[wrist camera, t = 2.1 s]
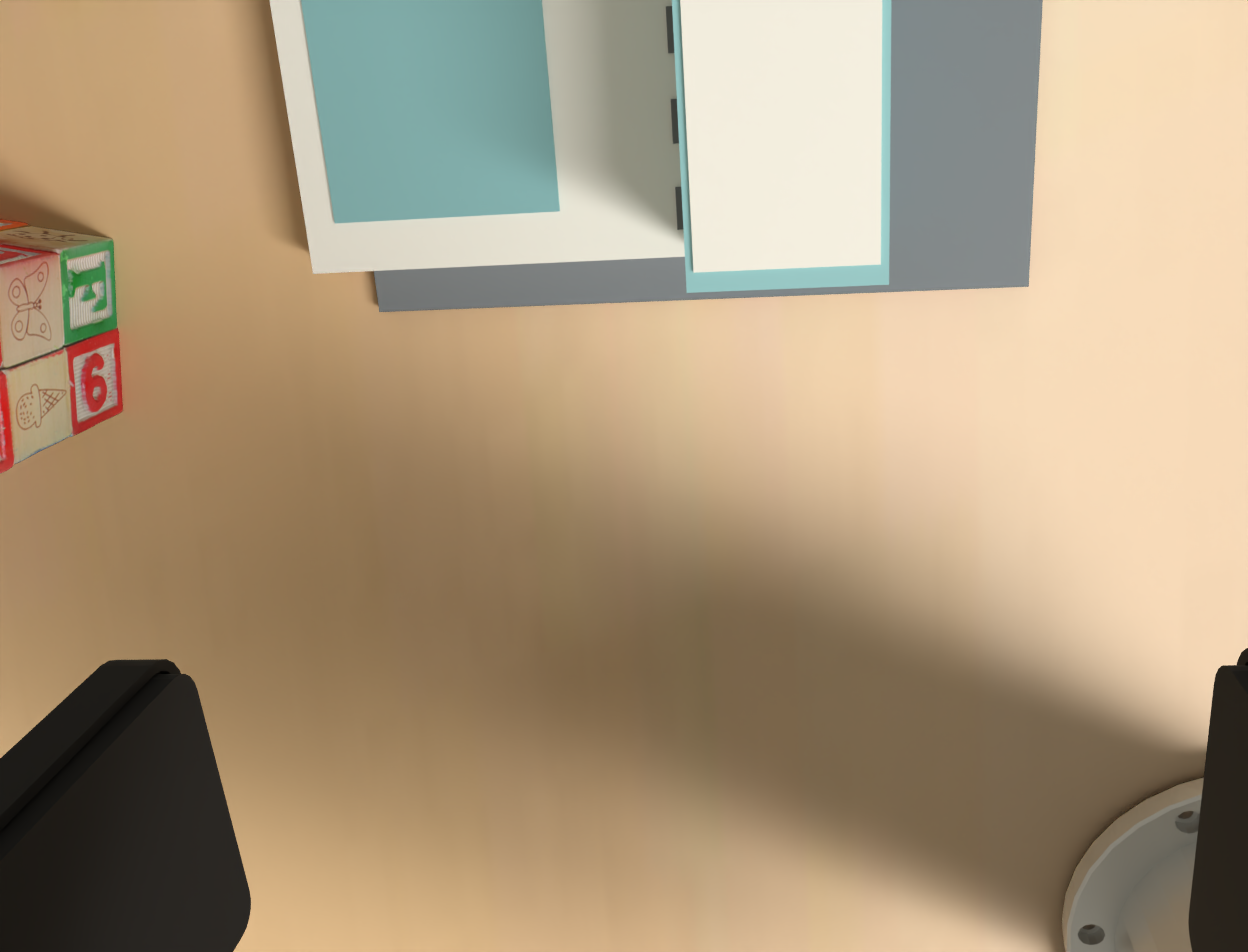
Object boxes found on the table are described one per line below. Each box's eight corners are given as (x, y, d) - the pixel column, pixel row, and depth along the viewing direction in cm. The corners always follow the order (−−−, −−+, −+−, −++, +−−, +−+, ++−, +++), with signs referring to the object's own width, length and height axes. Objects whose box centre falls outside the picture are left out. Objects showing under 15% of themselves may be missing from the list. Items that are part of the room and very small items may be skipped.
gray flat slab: (1050, -220, 29) (1063, -237, 27) (1026, 284, 33) (1036, 295, 32) (272, -133, 33) (244, -143, 31) (340, 311, 37) (319, 321, 35)
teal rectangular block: (876, -140, 30) (893, -200, 23) (875, 242, 33) (889, 285, 26) (695, -121, 31) (662, -173, 24) (711, 250, 34) (686, 294, 27)
